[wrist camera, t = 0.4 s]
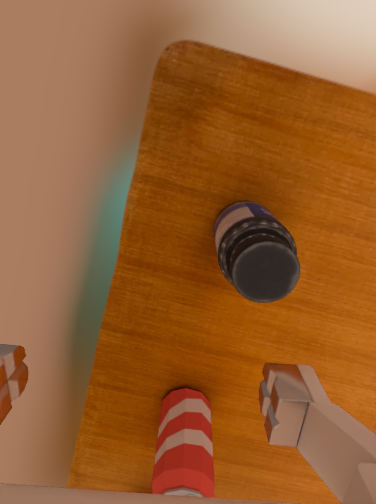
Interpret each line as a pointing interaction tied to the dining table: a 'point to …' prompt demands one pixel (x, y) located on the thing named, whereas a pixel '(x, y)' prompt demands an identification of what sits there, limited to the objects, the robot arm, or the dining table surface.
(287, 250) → the pill bottle
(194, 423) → the beverage can
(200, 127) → the dining table surface
